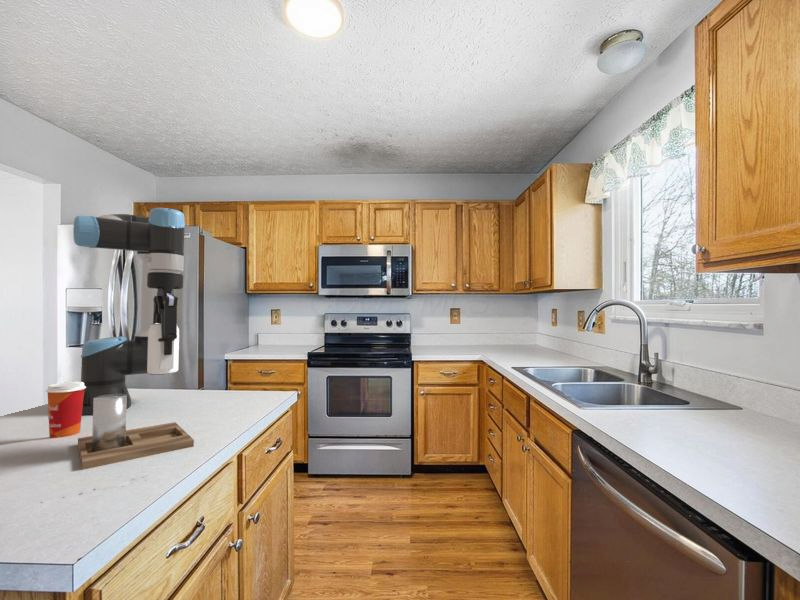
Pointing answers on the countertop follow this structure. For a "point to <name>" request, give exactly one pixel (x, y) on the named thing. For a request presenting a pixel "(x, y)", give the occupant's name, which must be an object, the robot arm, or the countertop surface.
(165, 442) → the tray
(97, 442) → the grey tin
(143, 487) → the countertop surface
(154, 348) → the can
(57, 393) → the paper cup
